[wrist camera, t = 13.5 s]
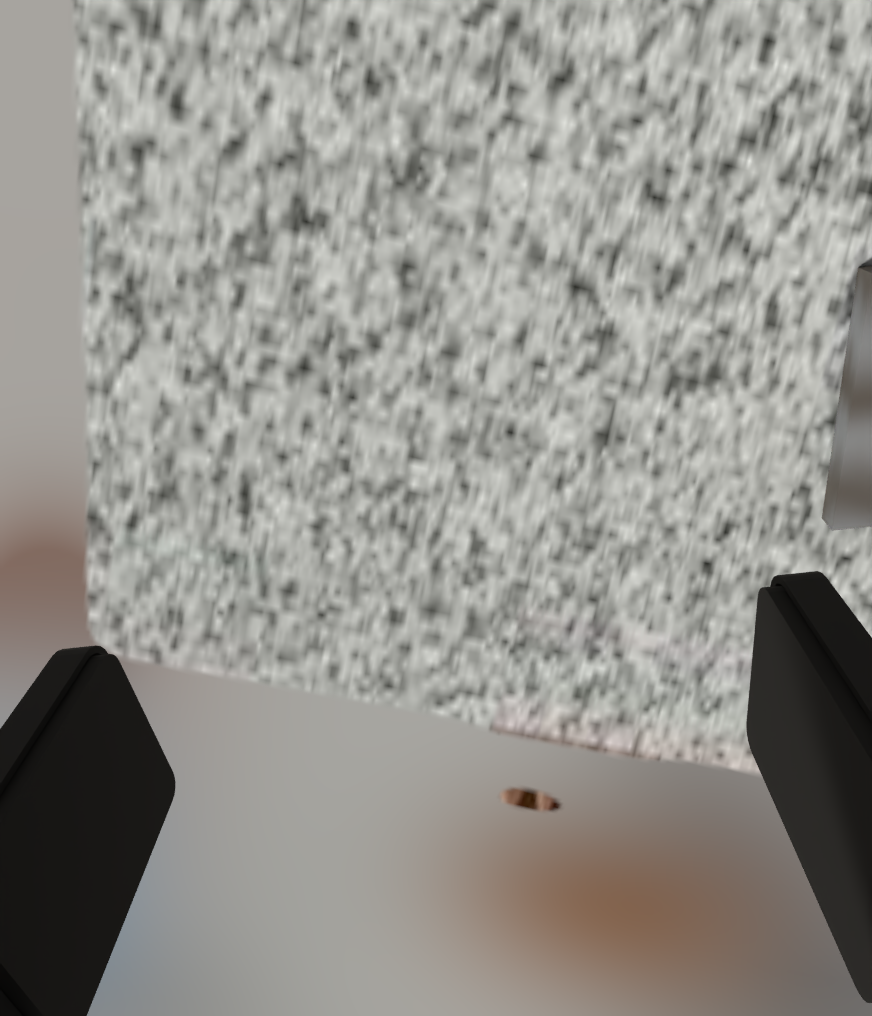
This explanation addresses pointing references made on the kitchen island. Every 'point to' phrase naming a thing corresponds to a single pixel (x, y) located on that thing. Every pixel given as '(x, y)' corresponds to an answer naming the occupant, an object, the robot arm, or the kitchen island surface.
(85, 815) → the robot arm
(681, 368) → the kitchen island surface
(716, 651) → the kitchen island surface
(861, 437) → the plinth
